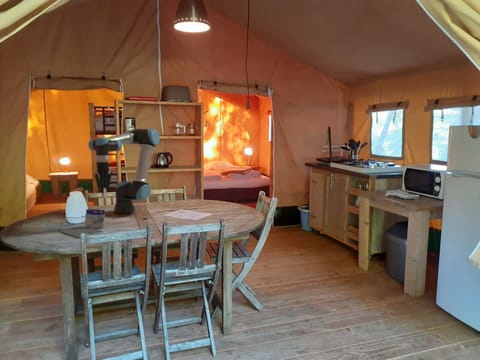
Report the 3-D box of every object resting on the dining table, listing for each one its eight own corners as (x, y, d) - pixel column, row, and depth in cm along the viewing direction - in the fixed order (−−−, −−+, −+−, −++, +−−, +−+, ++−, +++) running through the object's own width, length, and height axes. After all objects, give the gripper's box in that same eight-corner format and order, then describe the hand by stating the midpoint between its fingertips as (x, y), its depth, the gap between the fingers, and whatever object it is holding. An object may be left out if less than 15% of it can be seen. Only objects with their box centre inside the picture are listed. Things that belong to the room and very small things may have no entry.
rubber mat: (82, 226, 242) (82, 225, 242) (102, 231, 230) (102, 231, 230) (58, 231, 230) (58, 230, 229) (78, 238, 217) (78, 237, 217)
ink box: (84, 227, 235) (85, 209, 234) (85, 227, 237) (85, 209, 236) (103, 228, 238) (104, 210, 237) (104, 227, 240) (104, 209, 239)
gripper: (97, 162, 230) (98, 200, 234) (115, 161, 241) (116, 197, 244) (90, 161, 235) (91, 198, 238) (107, 160, 245) (109, 195, 249)
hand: (104, 197), depth 241 cm, fingers closed
